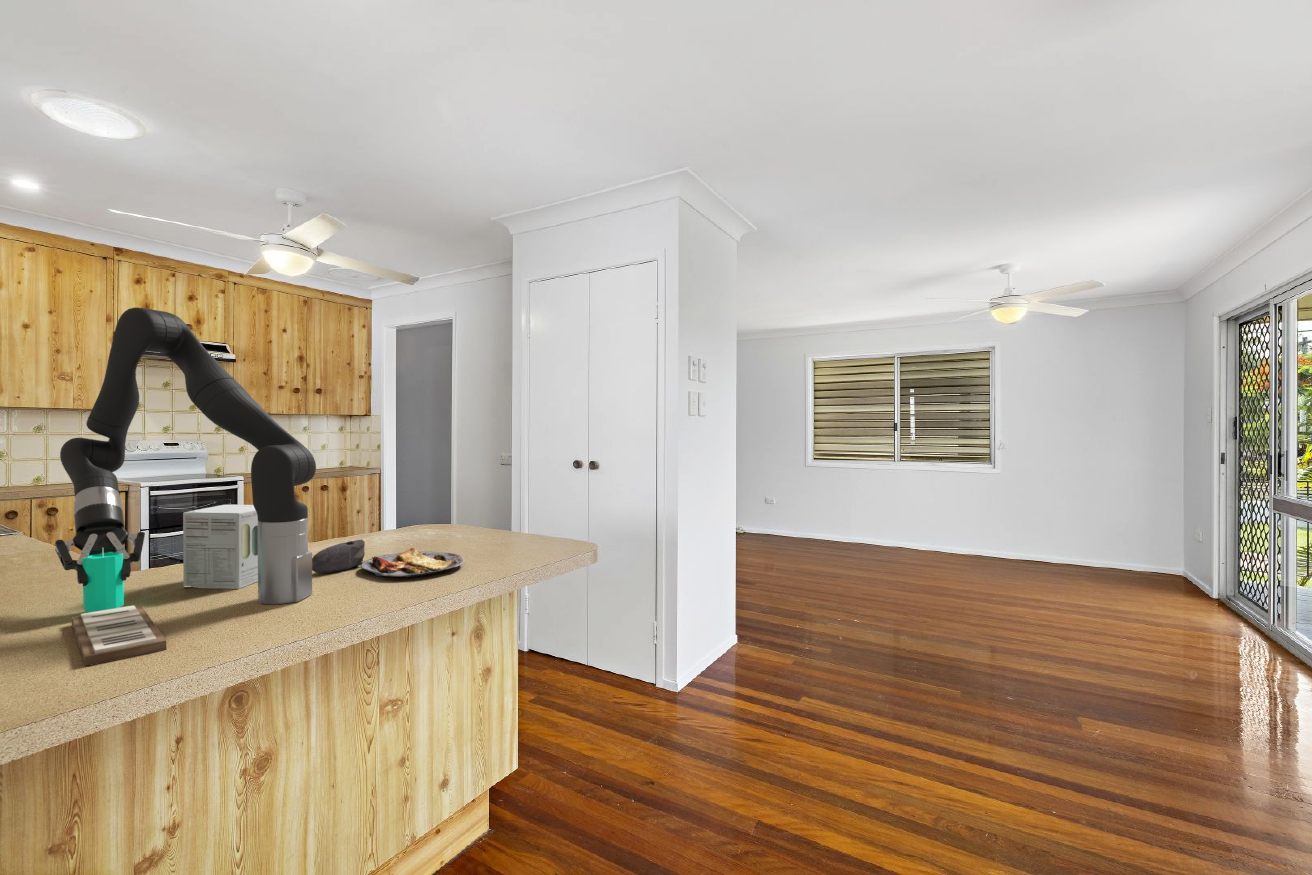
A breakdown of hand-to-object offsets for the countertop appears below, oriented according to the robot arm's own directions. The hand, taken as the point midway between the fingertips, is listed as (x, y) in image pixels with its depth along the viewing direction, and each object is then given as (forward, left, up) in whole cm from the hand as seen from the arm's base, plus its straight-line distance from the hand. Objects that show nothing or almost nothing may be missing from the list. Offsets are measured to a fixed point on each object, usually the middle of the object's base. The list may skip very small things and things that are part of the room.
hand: (105, 580), depth 120 cm
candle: (+1, -1, -6) cm, 6 cm away
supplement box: (-9, -24, -7) cm, 27 cm away
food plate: (-47, -37, -7) cm, 60 cm away
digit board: (-13, +13, -7) cm, 19 cm away
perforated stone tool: (-29, -35, -7) cm, 46 cm away
